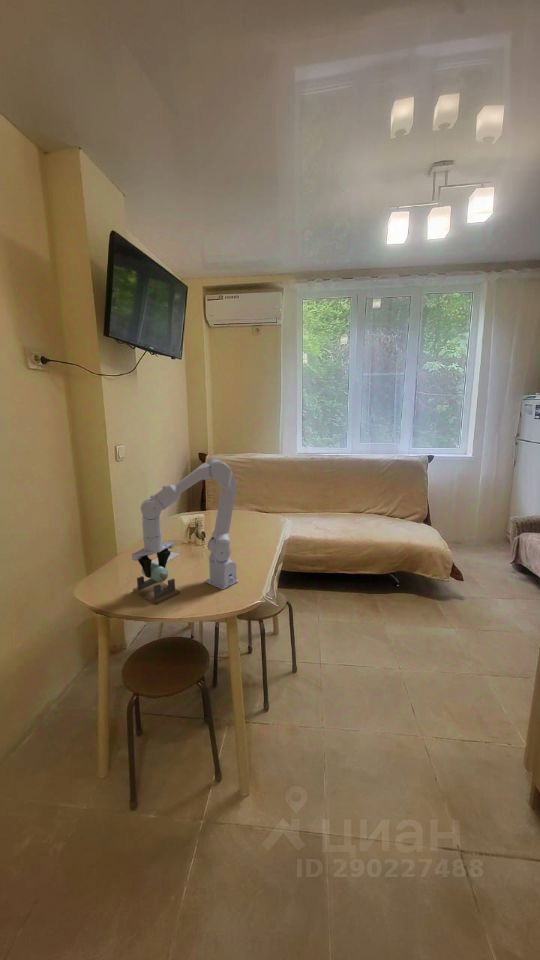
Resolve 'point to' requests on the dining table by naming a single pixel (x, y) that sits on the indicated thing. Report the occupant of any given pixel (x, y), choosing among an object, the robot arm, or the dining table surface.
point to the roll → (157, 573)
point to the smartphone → (172, 555)
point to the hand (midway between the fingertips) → (155, 574)
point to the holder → (156, 590)
